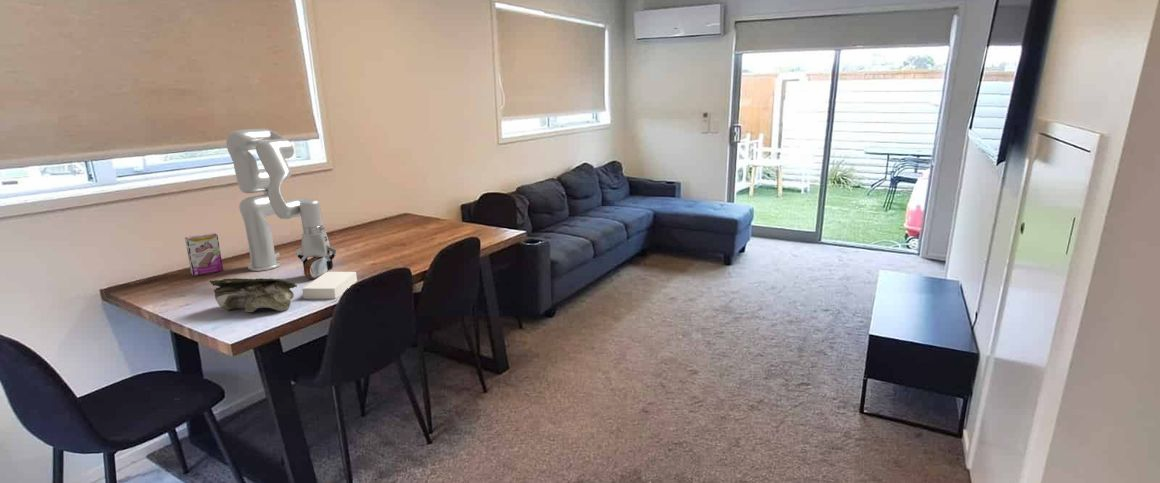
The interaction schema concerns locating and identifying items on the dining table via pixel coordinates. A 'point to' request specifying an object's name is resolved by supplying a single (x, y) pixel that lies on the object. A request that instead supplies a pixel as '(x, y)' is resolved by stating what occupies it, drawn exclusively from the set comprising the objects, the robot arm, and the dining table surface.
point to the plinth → (329, 285)
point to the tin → (315, 267)
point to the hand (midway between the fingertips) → (318, 269)
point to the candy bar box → (204, 254)
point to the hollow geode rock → (253, 293)
